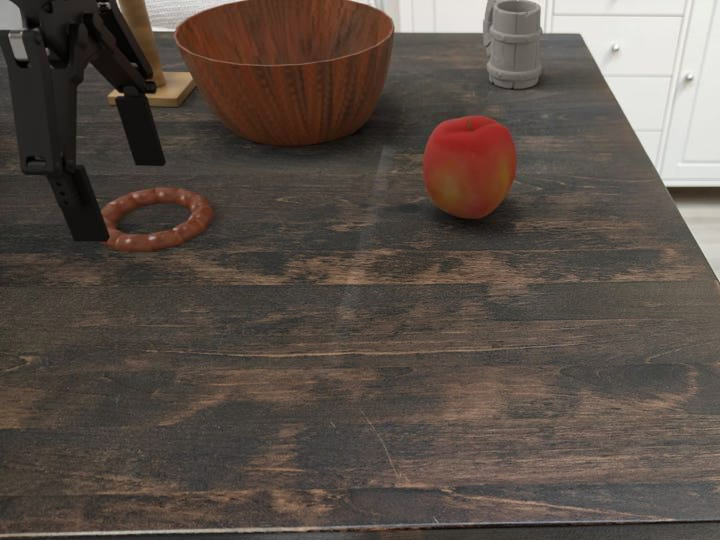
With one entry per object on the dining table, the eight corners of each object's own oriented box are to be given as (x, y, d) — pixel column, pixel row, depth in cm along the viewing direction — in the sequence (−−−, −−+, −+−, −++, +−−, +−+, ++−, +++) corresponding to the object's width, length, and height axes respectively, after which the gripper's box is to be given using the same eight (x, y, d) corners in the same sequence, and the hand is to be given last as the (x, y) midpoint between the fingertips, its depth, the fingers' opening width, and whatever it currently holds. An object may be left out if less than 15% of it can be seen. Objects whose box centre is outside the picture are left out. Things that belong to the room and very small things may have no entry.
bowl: (193, 94, 99) (171, 3, 92) (376, 76, 106) (370, -11, 98) (201, 180, 82) (175, 76, 74) (421, 152, 88) (418, 53, 80)
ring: (78, 257, 70) (71, 239, 69) (123, 199, 78) (117, 182, 77) (194, 261, 70) (189, 243, 69) (227, 202, 78) (223, 185, 77)
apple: (533, 213, 78) (540, 121, 71) (468, 247, 73) (470, 152, 66) (468, 181, 83) (470, 92, 76) (404, 211, 78) (399, 119, 71)
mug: (505, 94, 102) (509, 0, 94) (462, 66, 109) (463, -23, 101) (551, 84, 105) (558, -8, 97) (506, 57, 112) (510, -30, 104)
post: (109, 105, 96) (66, -32, 86) (135, 79, 103) (98, -51, 92) (178, 107, 96) (144, -30, 86) (200, 81, 103) (170, -49, 92)
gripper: (-5, -20, 43) (110, 279, 57) (148, -101, 62) (207, 139, 76) (-133, -23, 43) (13, 277, 57) (59, -103, 62) (134, 137, 76)
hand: (124, 199), depth 67 cm, fingers open, 13 cm apart
